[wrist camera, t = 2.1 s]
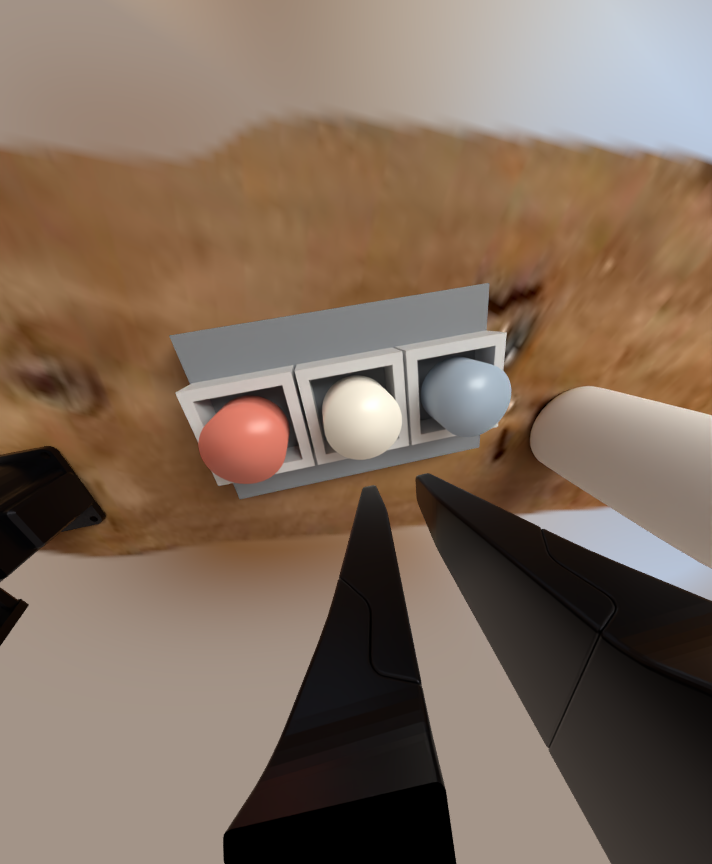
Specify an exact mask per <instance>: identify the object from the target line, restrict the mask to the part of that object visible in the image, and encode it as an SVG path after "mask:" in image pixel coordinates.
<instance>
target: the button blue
mask: <svg viewBox="0 0 712 864" xmlns="http://www.w3.org/2000/svg"><path fill="white" fill-rule="evenodd" d="M510 398H511V385H510V381H509V378H508V377H507V375H506V374H505V372H504V371H503V370H501V369H500V368H499V367H497V366H494V365H492V364H488V363H484V362H480V361H477V360H473V359H469V358H466V357H459V356H456V357H450V358H447V359H445V360H443V361H441V362H439V363H438V364H436V365H435V366H434V367H433V368H432V369H431V370H430V371H429V373H428V374H427V376H426V377H425V379H424V382H423V384H422V388H421V402H422V405H423V407H424V409H425V411H426V412H427V413H428V414H429V415H430V416H431V417H432V418H434V419H435V420H436V421H437V422H438V423H439V424H441V425H442V426H443V427H444V428H445V429H447V430H448V431H449V432H450V433H452V434H454V435H456V436H460V437H473V436H477V435H480V434H483V433H485V432H486V431H488V430H490V429H491V428H492V427H494V426H495V425H496V424H497V423H498V422H499V421H500V419H501V418H502V417H503V415H504V414H505V412H506V410H507V408H508V406H509V403H510Z"/></svg>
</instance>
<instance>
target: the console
mask: <svg viewBox="0 0 712 864" xmlns="http://www.w3.org/2000/svg"><path fill="white" fill-rule="evenodd" d="M488 296H489V283H486V284H480V285H474V286H468V287H462V288H456V289H450V290H444V291H437V292H431V293H425V294H419V295H413V296H407V297H401V298H395V299H389V300H383V301H377V302H371V303H365V304H359V305H352V306H346V307H340V308H334V309H328V310H322V311H316V312H310V313H304V314H298V315H292V316H286V317H280V318H274V319H267V320H261V321H255V322H249V323H243V324H237V325H231V326H225V327H219V328H213V329H207V330H201V331H195V332H189V333H183V334H176V335H170V339H171V341H172V343H173V346H174V348H175V350H176V353H177V355H178V357H179V360H180V362H181V364H182V366H183V369H184V371H185V373H186V376H187V378H188V380H189V383H190V385H188V386H186V387H184V388H183V389H181V390H179V391H177V392H176V396H177V398H178V400H179V402H180V404H181V406H182V409H183V411H184V413H185V415H186V417H187V419H188V422H189V424H190V426H191V428H192V430H193V432H194V434H195V437H196V439H197V441H198V443H199V437H200V433H201V431H202V429H203V428H204V426H205V425H206V424H207V423H208V422H209V421H210V420H211V419H212V418H213V416H214V415H215V414H216V413H217V412H218V411H219V410H220V409H221V408H222V407H223V406H224V405H225V404H226V403H228V402H229V401H231V400H232V399H235V398H237V397H241V396H259V397H263V398H265V399H268V400H270V401H272V402H273V403H275V404H276V405H277V406H278V407H280V409H281V410H282V411H283V412H284V414H285V415H286V417H287V419H288V422H289V426H290V434H289V440H288V446H287V451H286V456H285V460H284V463H283V465H282V466H281V468H280V469H279V470H278V472H276V473H275V474H274V475H273V476H272V477H270V478H268V479H266V480H264V481H262V482H258V483H253V484H239V483H234V482H230V481H227V480H225V479H223V478H221V477H219V476H217V475H216V474H214V473H213V472H212V473H213V475H214V478H215V480H216V482H217V484H218V486H221V485H226V484H231V483H233V485H234V487H235V489H236V492H237V494H238V496H239V499H243V498H248V497H253V496H257V495H262V494H266V493H271V492H276V491H280V490H285V489H289V488H294V487H299V486H303V485H308V484H312V483H317V482H322V481H326V480H331V479H335V478H340V477H345V476H349V475H354V474H358V473H363V472H368V471H372V470H377V469H381V468H386V467H391V466H395V465H400V464H404V463H409V462H414V461H418V460H423V459H427V458H432V457H437V456H441V455H446V454H450V453H455V452H460V451H464V450H469V449H473V448H478V447H479V442H480V435H477V436H473V437H460V436H456V435H454V434H452V433H450V432H449V431H448V430H447V429H445V428H444V427H443V426H442V425H441V424H439V423H438V422H437V421H436V420H435V419H434V418H432V417H431V416H430V415H429V414H428V413H427V412H426V411H425V409H424V407H423V405H422V402H421V388H422V384H423V382H424V379H425V377H426V376H427V374H428V373H429V371H430V370H431V369H432V368H433V367H434V366H435V365H436V364H438V363H439V362H441V361H443V360H445V359H447V358H450V357H456V356H459V357H466V358H469V359H473V360H477V361H480V362H484V363H488V364H492V365H494V366H497V367H499V368H500V369H501V370H503V366H504V355H505V345H506V334H507V332H495V331H486V328H487V312H488ZM354 375H361V376H366V377H369V378H371V379H373V380H375V381H377V382H378V383H379V384H380V385H381V386H382V387H383V388H384V389H385V390H386V391H387V392H388V393H389V394H390V395H391V396H392V397H393V398H394V399H395V400H396V402H397V403H398V405H399V408H400V410H401V415H402V426H401V430H400V433H399V436H398V438H397V439H396V441H395V442H394V444H393V445H392V446H391V447H390V448H389V449H388V450H387V451H385V452H384V453H382V454H380V455H379V456H376V457H374V458H370V459H365V460H355V459H350V458H347V457H344V456H342V455H340V454H339V453H337V452H336V451H335V450H334V449H333V448H332V447H331V446H330V444H329V443H328V441H327V439H326V436H325V431H324V424H323V415H322V404H323V400H324V397H325V395H326V393H327V391H328V390H329V389H330V387H331V386H332V385H333V384H335V383H336V382H337V381H339V380H341V379H343V378H345V377H349V376H354ZM495 427H498V423H497V424H496V425H495V426H494V427H492V428H495Z"/></svg>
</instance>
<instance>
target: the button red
mask: <svg viewBox="0 0 712 864" xmlns="http://www.w3.org/2000/svg"><path fill="white" fill-rule="evenodd" d="M289 434H290V426H289V422H288V419H287V417H286V415H285V414H284V412H283V411H282V410H281V409H280V407H278V406H277V405H276V404H275V403H273V402H272V401H270V400H268V399H265V398H263V397H259V396H241V397H237V398H235V399H232V400H231V401H229V402H228V403H226V404H225V405H224V406H223V407H222V408H221V409H220V410H219V411H218V412H217V413H216V414H215V415H214V416H213V418H212V419H211V420H210V421H209V422H208V423H207V424H206V425H205V426H204V428H203V429H202V431H201V433H200V437H199V443H198V445H199V452H200V455H201V458H202V460H203V461H204V463H205V464H206V466H207V467H208V468H209V469H210V470H211V471H212V472H213V473H214V474H216V475H217V476H219V477H221V478H223V479H225V480H227V481H230V482H234V483H239V484H253V483H258V482H262V481H264V480H266V479H268V478H270V477H272V476H273V475H274V474H275V473H276V472H278V470H279V469H280V468H281V466H282V465H283V463H284V460H285V456H286V451H287V446H288V440H289Z"/></svg>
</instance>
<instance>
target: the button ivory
mask: <svg viewBox="0 0 712 864" xmlns="http://www.w3.org/2000/svg"><path fill="white" fill-rule="evenodd" d="M322 415H323V424H324V431H325V436H326V439H327V441H328V443H329V444H330V446H331V447H332V448H333V449H334V450H335V451H336V452H337V453H339V454H340V455H342V456H344V457H347V458H350V459H355V460H365V459H370V458H374V457H376V456H379V455H380V454H382V453H384V452H385V451H387V450H388V449H389V448H390V447H391V446H392V445H393V444H394V442H395V441H396V439H397V438H398V436H399V433H400V430H401V426H402V415H401V410H400V408H399V405H398V403H397V402H396V400H395V399H394V398H393V397H392V396H391V395H390V394H389V393H388V392H387V391H386V390H385V389H384V388H383V387H382V386H381V385H380V384H379V383H378V382H377V381H375V380H373V379H371V378H369V377H366V376H361V375H354V376H349V377H345V378H343V379H341V380H339V381H337V382H336V383H335V384H333V385H332V386H331V387H330V389H329V390H328V391H327V393H326V395H325V397H324V400H323V404H322Z"/></svg>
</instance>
